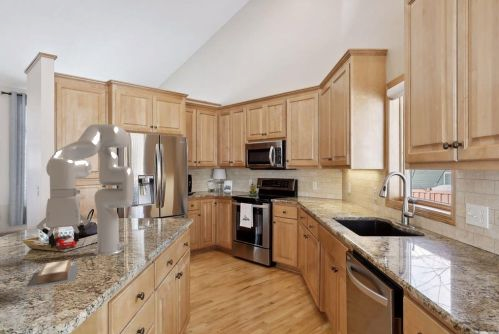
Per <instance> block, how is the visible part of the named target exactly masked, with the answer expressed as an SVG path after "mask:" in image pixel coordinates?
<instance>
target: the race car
mask: <svg viewBox="0 0 499 334" xmlns="http://www.w3.org/2000/svg"><path fill="white" fill-rule="evenodd" d="M54 243H55V245H54V247H55V249H57V251H58V252H60V251H64V250H69V249H75V248H76V247H77V246H76V245H77V244H75V241H74V237H73V236H72V235H69V234H66V235H61V236H58V237H56V238H54Z"/></svg>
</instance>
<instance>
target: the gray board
mask: <svg viewBox="0 0 499 334" xmlns="http://www.w3.org/2000/svg"><path fill="white" fill-rule="evenodd" d="M78 268H79V264H73V265H71V269H70V273H69V277H68V280H62V281H56V282H50V283H44V284H39V285H38V278H37V276H38V274H39V273H40V271H41V269H40V270H37V272H36V273H35V274H34V277H33V278H32V280H31V281H30V283H29V285H28V287H27V289H33V288H37V287H44V286H50V285H55V284H62V283H67V282H73V281H76V279H77V272H78Z"/></svg>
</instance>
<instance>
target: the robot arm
mask: <svg viewBox="0 0 499 334" xmlns="http://www.w3.org/2000/svg"><path fill="white" fill-rule="evenodd" d="M129 143H130V137H129V134H128V132H127V131H126V130H125V129H123V128H122V127H121V126H118V125H117V124H114V123H113V124H111V123H108V124H107V123H106V124H105V123H101V124H99V123H95V124H94V123H93V124H89V125H88V127H86V129H85V130H84V131H83V132H82V134H81V136H80V137H79V138H78V140H77V141H73V142H71V143H70V144H67V145H65V146H63V147H61V148H59V149H57V150H56V151H55V152H54V153H53V154H52V155H51V157H50V158H49V159H48V161H47V164H46V167H45V168H46V170H45V171H46V173H47V175H48V176H49V197H50V198H47V200H46V201H47V202H46V207H45V217H44V218H43V219H42V220H41V221H40V222H39V223H38V224H37V225H36V229H38V230H39V231H41V232H42V233H44V234H45V235H46V236H47V237H48V246H50V248H51V249H53V248H54V247H55V246H54V245H55V243H54V239H55V234H54V231H55V229H57V228H64V227H72V228H73V230H74V231H73V240H74V241H75V244H76V245H77V243H78V242H79V241H80V238H79V237H80V236H79V233H80V232H81V231H82V230H83V229H84V228H85V227H86V226H87V225H88V224H89V223H90V220H89V219H88V218H86V216H84V215H82V214H81V203H80V199H79V197H78V196H77V195H79V194H81V190H80V189H76V179H84V178H85V179H86V178H87V177H89V175H91V172H92V168H93V167H92V165H91V162H90V161H89V160H87V158H88V159H89V158H91V157H93V156H95V155H98V160H99V161H98V165H99V166H98V180H99V184H100V185H102V186H110V188H109V187H108V188H100V189H99V190H97V191H96V192H95V193H94V204H95V208H96V209H95V210H96V230H97V231H96V232H97V233H96V234H97V235H96V236H97V237H96V238H97V240H96V241H97V243H96V244H97V249H96V250H95V251H93V255H96V256H109V255H111V256H114V255H115V256H116V255H118V254H121V253H122V252H123V248H129V247H130V242H127V243H126V242H122V243H121V242H120V235H119V234H120V232H119V231H120V229H119V227H120V226H119V225H120V223H119V222H120V221H119V219H120V217H119V214H118V212H117V211H116V209H115V208H117V209H118V208H122V209H123V208H129V207H132V205H133V203H134V196H135V195H134V189H135V188H134V186H135V175H134V171H133V169H132V168H131V167H130V166H119V156H118V154H117V153H116V152H115V150H113V149H121V148H123V149H124V148H127V147H128V146H129ZM113 186H121V187H122V188H120V187H119V188H118V187H116V188H115V187H113ZM112 187H113V188H112ZM81 221H82V223H81ZM80 223H81V224H80ZM79 224H80V225H79ZM44 225H45V226H44ZM78 225H79V226H78ZM48 228H49V229H48Z"/></svg>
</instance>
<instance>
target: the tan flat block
mask: <svg viewBox="0 0 499 334" xmlns="http://www.w3.org/2000/svg"><path fill="white" fill-rule="evenodd" d="M71 266H72V260H71V259H69V260H68V259H67V260H62V261H53V262H47V263H44V264H43V265H42V267H41V268H40V270H41V271H40V270H39V271H40V273H39V274H38V276H37V278H38V285H39V284H44V283H50V282H56V281H62V280H68V277H69V273H70V269H71Z"/></svg>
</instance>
